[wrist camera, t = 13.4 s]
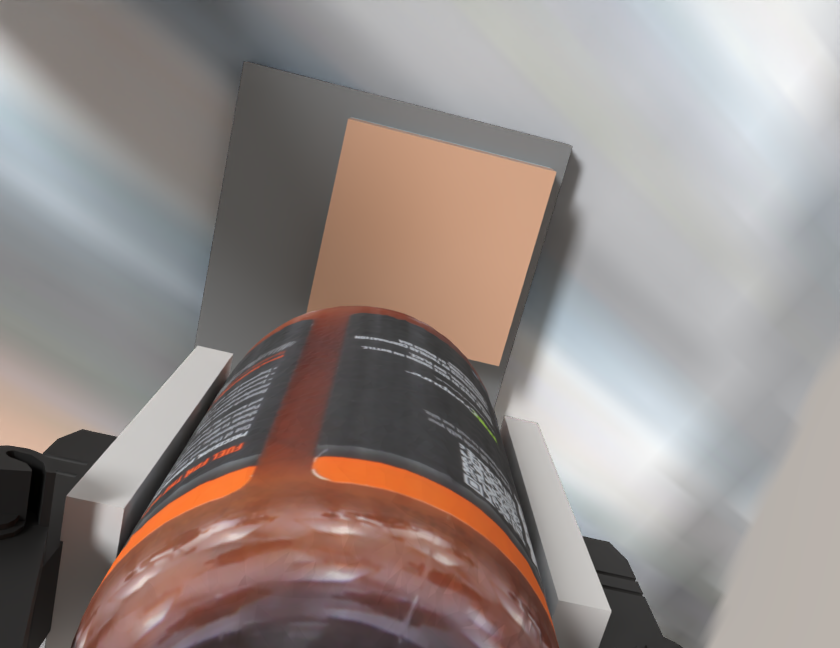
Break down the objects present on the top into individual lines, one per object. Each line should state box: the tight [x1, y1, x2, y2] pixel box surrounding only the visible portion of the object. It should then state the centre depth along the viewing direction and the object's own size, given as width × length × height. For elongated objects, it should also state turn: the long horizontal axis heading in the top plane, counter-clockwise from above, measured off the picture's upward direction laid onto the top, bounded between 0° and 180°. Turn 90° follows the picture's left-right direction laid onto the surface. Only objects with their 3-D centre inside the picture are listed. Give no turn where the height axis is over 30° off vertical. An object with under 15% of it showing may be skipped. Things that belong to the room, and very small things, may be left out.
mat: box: [194, 62, 573, 410], centre depth 33 cm, size 18×13×1 cm
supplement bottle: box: [71, 306, 559, 648], centre depth 12 cm, size 6×6×11 cm
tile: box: [307, 117, 556, 366], centre depth 31 cm, size 8×2×8 cm
